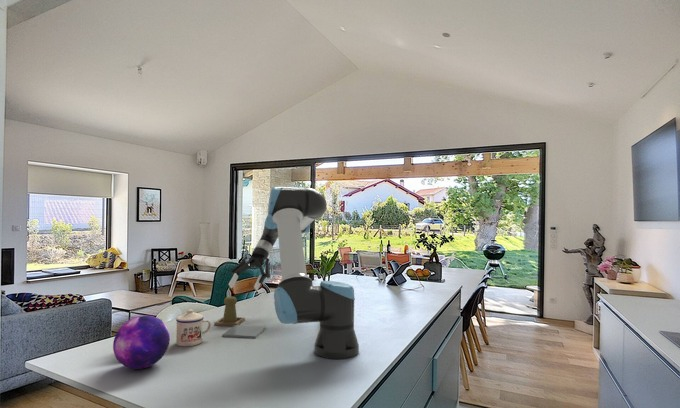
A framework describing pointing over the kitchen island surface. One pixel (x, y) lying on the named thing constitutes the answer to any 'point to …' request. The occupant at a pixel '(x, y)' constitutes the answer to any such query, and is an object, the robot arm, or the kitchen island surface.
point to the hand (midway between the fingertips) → (242, 287)
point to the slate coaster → (244, 331)
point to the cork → (230, 310)
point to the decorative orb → (141, 342)
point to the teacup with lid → (190, 328)
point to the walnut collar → (221, 323)
